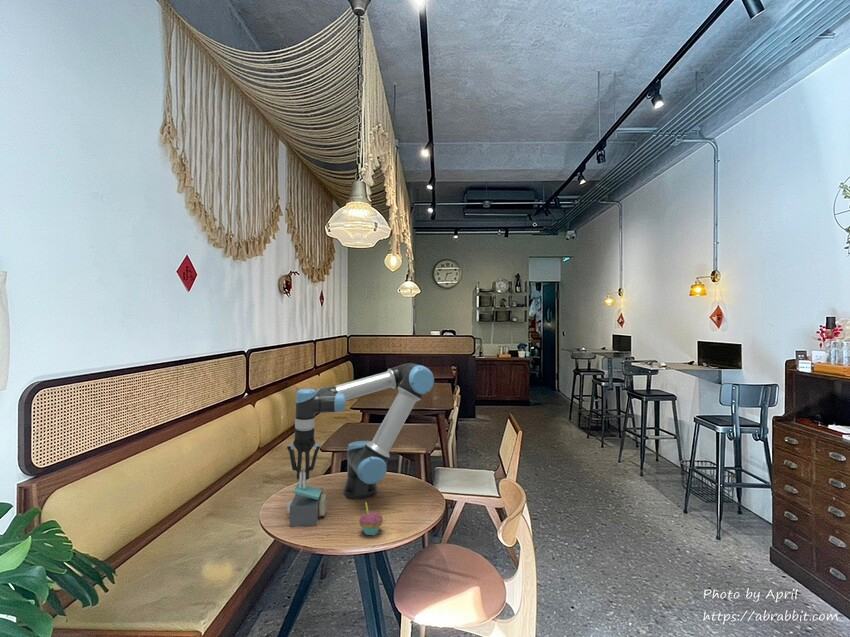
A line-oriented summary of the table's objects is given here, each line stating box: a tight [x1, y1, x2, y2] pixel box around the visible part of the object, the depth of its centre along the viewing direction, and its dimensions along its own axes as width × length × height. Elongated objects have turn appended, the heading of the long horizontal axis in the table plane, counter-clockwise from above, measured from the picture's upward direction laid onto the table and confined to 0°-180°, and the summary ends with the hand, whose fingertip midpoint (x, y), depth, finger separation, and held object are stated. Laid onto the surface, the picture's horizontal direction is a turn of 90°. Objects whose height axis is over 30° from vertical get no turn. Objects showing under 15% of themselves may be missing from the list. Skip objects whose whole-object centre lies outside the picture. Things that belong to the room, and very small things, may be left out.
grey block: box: [289, 487, 324, 528], centre depth 171 cm, size 10×16×8 cm, turn 5°
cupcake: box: [359, 501, 384, 536], centre depth 158 cm, size 9×8×12 cm
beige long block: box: [286, 493, 328, 517], centre depth 171 cm, size 15×6×6 cm, turn 95°
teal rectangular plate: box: [293, 482, 322, 500], centre depth 171 cm, size 10×8×1 cm
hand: (302, 487), depth 171 cm, fingers closed
